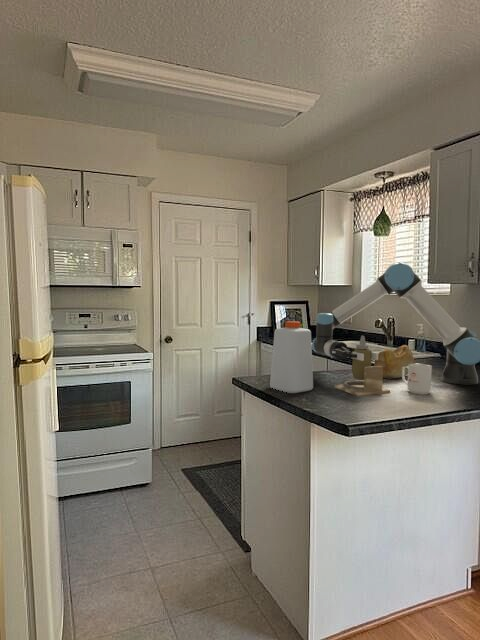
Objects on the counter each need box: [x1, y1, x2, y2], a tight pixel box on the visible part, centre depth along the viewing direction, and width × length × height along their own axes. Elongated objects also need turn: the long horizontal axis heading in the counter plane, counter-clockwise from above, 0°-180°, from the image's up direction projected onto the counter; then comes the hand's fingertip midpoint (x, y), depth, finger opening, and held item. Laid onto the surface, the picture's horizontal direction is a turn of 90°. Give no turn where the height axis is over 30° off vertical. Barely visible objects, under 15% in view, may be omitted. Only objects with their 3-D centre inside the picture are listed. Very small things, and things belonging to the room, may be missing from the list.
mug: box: [401, 363, 433, 395], centre depth 184 cm, size 12×9×11 cm
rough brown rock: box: [373, 344, 415, 380], centre depth 218 cm, size 23×17×15 cm
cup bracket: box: [333, 365, 391, 397], centre depth 185 cm, size 16×16×11 cm
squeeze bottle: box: [351, 335, 372, 381], centre depth 184 cm, size 8×8×18 cm
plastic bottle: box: [269, 320, 314, 394], centre depth 184 cm, size 15×15×28 cm
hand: (370, 357), depth 180 cm, fingers closed on squeeze bottle, 6 cm apart
